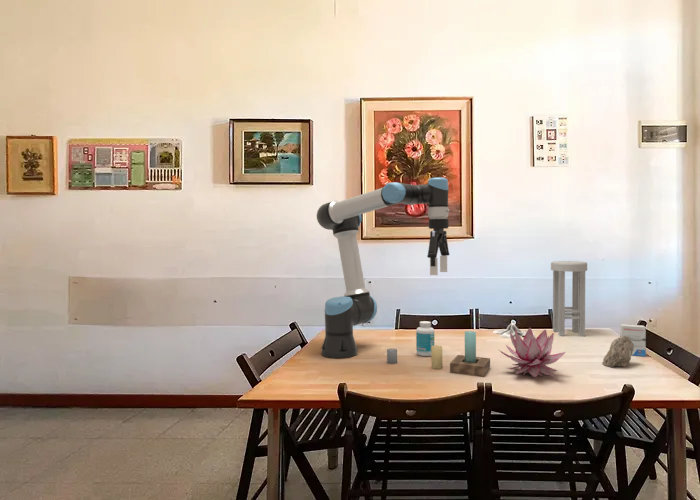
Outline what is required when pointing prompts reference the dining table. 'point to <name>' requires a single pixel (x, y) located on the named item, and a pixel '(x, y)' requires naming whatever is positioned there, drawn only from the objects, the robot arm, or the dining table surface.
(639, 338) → the ink box
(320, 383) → the dining table surface
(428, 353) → the pill bottle
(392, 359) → the short pin
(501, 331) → the cloth
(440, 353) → the medium pin
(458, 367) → the socket block
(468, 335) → the long pin
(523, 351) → the decorative flower
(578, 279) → the stool
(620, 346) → the rock
